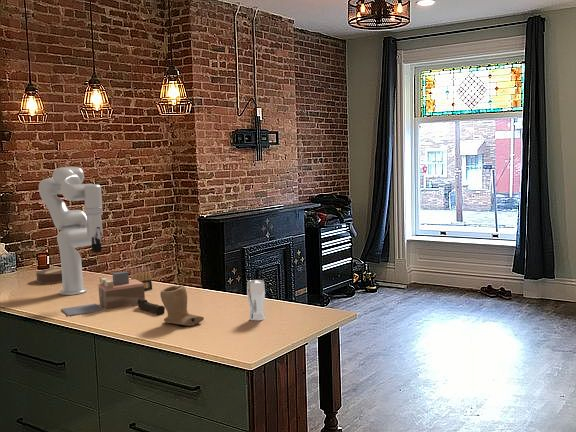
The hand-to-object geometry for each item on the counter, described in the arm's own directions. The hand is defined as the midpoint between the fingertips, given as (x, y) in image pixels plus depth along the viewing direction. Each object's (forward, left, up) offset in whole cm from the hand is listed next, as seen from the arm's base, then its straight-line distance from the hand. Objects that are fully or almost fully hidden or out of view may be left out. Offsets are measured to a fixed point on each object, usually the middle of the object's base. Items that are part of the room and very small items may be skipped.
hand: (96, 251), depth 288 cm
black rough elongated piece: (+34, +11, -24) cm, 43 cm away
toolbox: (+13, +7, -23) cm, 27 cm away
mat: (+13, -11, -23) cm, 29 cm away
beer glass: (+75, +42, -23) cm, 88 cm away
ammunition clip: (-8, +23, -23) cm, 34 cm away
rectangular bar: (+12, 0, -14) cm, 19 cm away
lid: (+13, +7, -16) cm, 21 cm away
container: (-69, -5, -24) cm, 73 cm away
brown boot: (+62, +15, -23) cm, 67 cm away
